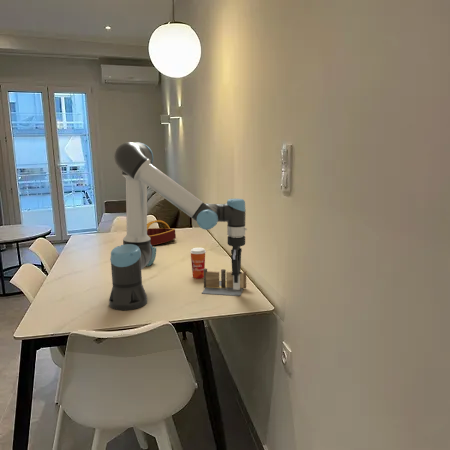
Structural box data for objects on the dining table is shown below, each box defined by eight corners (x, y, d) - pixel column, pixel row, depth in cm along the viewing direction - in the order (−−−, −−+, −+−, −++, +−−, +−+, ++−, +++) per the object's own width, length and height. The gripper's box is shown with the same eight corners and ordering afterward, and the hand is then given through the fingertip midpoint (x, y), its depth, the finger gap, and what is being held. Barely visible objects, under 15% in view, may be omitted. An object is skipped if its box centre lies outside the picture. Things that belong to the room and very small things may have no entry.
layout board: (240, 296, 168) (240, 295, 168) (201, 293, 171) (201, 292, 171) (245, 282, 184) (245, 282, 184) (210, 280, 187) (210, 280, 187)
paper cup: (189, 279, 190) (188, 251, 187) (192, 274, 197) (191, 247, 195) (205, 279, 189) (204, 251, 186) (207, 274, 196) (207, 247, 194)
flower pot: (151, 267, 209) (150, 251, 207) (135, 266, 210) (135, 250, 209) (157, 262, 217) (156, 247, 215) (142, 262, 219) (141, 246, 217)
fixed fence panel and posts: (225, 288, 177) (225, 270, 175) (203, 287, 179) (203, 269, 177) (226, 287, 179) (225, 269, 177) (204, 286, 180) (204, 268, 179)
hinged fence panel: (226, 287, 177) (226, 271, 175) (227, 286, 178) (226, 270, 177) (245, 288, 175) (245, 272, 173) (246, 287, 176) (246, 271, 175)
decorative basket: (154, 238, 287) (150, 218, 285) (188, 235, 274) (185, 214, 272) (124, 249, 257) (120, 227, 255) (161, 247, 244) (157, 224, 242)
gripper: (242, 239, 158) (242, 295, 163) (247, 232, 171) (247, 284, 175) (224, 238, 160) (225, 293, 164) (230, 232, 172) (230, 283, 177)
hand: (236, 288), depth 170 cm, fingers closed
